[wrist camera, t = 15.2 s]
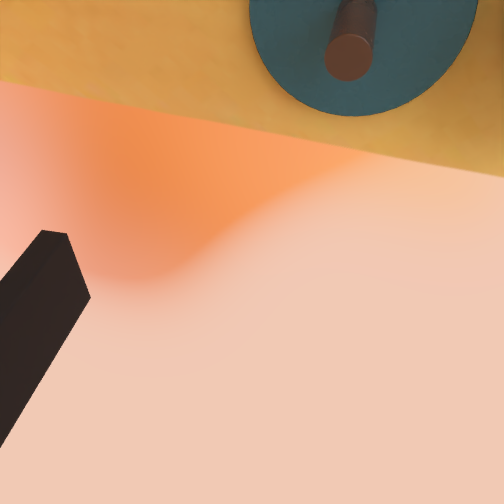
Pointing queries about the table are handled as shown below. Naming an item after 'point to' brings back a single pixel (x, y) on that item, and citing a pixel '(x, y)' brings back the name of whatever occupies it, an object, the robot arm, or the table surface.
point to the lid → (359, 49)
